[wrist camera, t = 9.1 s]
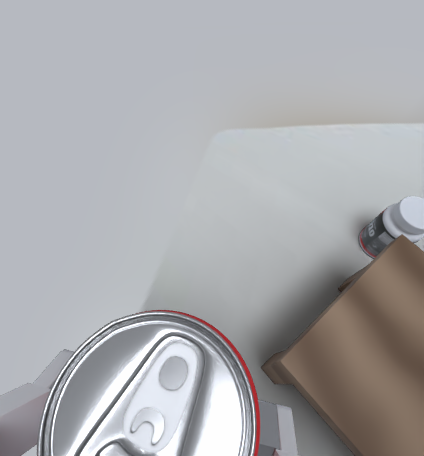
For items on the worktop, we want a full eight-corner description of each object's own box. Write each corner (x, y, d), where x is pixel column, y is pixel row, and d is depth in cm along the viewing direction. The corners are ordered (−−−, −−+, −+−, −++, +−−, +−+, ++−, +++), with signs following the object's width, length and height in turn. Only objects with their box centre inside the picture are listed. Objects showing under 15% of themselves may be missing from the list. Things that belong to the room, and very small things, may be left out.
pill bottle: (367, 220, 41) (405, 184, 34) (400, 240, 40) (448, 207, 33) (351, 246, 39) (389, 214, 32) (386, 268, 38) (433, 240, 31)
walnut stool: (347, 272, 38) (402, 233, 28) (467, 383, 33) (583, 384, 23) (254, 367, 33) (280, 360, 23) (379, 516, 28) (481, 590, 18)
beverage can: (108, 436, 16) (-37, 494, 6) (158, 343, 19) (115, 269, 8) (196, 488, 16) (205, 660, 5) (236, 383, 18) (298, 357, 8)
